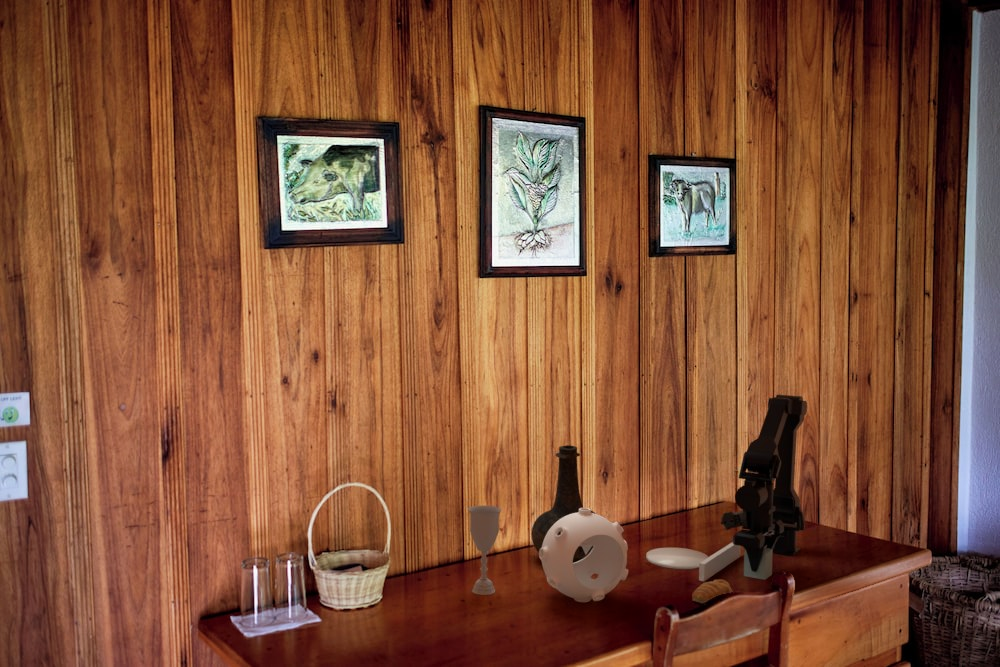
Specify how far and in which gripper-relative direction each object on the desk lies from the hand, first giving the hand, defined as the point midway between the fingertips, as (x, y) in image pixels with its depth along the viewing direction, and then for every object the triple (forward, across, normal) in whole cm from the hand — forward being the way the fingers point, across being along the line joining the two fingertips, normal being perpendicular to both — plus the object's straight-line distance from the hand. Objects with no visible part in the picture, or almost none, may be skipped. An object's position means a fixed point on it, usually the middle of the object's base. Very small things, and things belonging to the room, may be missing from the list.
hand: (758, 568), depth 218 cm
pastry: (+2, +22, -2) cm, 22 cm away
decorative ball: (+2, +39, -25) cm, 46 cm away
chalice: (+2, +47, -45) cm, 65 cm away
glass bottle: (+2, +17, -41) cm, 44 cm away
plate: (+2, 0, -20) cm, 20 cm away
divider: (+2, 0, -9) cm, 9 cm away
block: (+2, 0, 0) cm, 2 cm away
